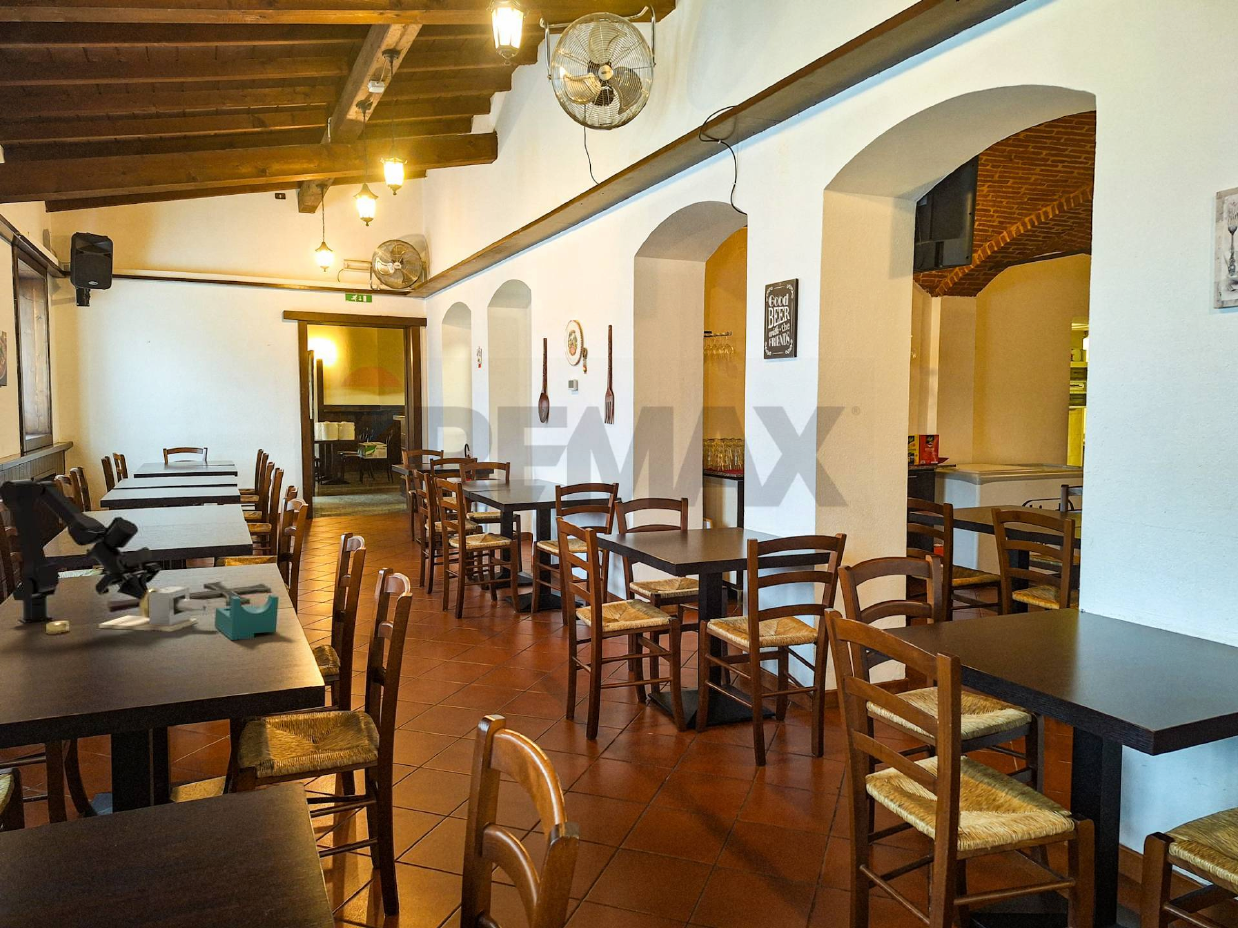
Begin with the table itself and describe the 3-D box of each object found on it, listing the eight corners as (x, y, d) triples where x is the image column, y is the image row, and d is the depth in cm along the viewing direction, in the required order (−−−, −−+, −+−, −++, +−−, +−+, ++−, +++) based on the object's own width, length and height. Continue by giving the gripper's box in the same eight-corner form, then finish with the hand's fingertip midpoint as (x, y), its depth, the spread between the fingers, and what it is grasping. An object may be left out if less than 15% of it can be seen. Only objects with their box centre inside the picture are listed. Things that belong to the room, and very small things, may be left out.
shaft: (139, 621, 224) (139, 591, 224) (161, 614, 232) (160, 585, 232) (196, 624, 221) (195, 594, 221) (216, 617, 229) (215, 588, 229)
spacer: (43, 632, 221) (43, 623, 221) (65, 628, 225) (64, 619, 225) (50, 635, 218) (50, 626, 218) (72, 631, 222) (71, 622, 222)
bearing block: (149, 625, 224) (148, 592, 223) (170, 618, 232) (169, 586, 231) (169, 626, 223) (168, 593, 222) (190, 619, 231) (189, 587, 230)
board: (99, 627, 226) (99, 624, 226) (127, 618, 235) (127, 615, 235) (172, 631, 222) (171, 627, 222) (197, 622, 231) (197, 618, 231)
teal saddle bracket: (275, 636, 219) (278, 597, 219) (231, 639, 212) (234, 598, 212) (256, 623, 233) (259, 586, 233) (214, 626, 226) (217, 587, 226)
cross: (101, 594, 262) (253, 577, 290) (101, 599, 262) (253, 583, 290) (116, 614, 234) (282, 594, 262) (116, 621, 235) (283, 600, 262)
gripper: (103, 544, 219) (141, 587, 218) (154, 534, 237) (190, 574, 236) (78, 573, 221) (116, 616, 219) (131, 561, 239) (166, 601, 238)
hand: (149, 600), depth 228 cm, fingers closed, pressing on shaft
